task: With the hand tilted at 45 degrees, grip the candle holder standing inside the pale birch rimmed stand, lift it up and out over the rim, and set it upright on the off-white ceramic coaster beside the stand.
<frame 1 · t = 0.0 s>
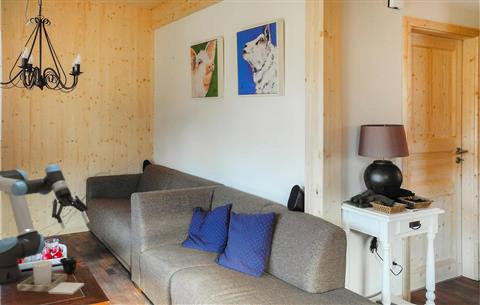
hand: (76, 225, 217), 36 cm above the table, tool tilted 35°, fingers open, 13 cm apart
birch stand: (42, 284, 230), on the table
candle holder: (42, 285, 230), resting in birch stand
controller: (68, 272, 248), on the table
coaster: (66, 289, 223), on the table
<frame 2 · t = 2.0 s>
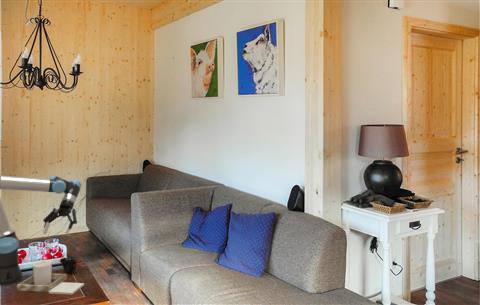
hand: (55, 233, 241), 25 cm above the table, tool tilted 45°, fingers open, 13 cm apart
nothing on the table moved.
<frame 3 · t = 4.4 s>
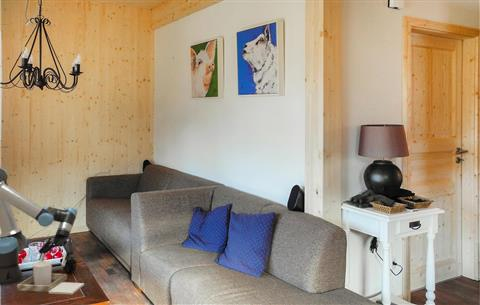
hand: (51, 265, 234), 9 cm above the table, tool tilted 45°, fingers open, 13 cm apart
nothing on the table moved.
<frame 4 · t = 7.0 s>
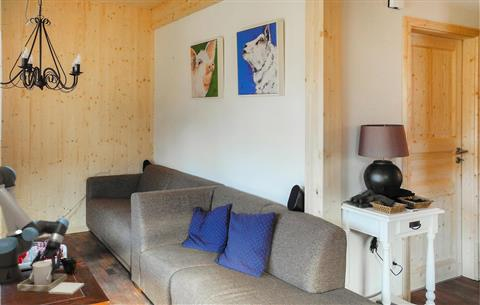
hand: (39, 280, 226), 4 cm above the table, tool tilted 45°, fingers closed on candle holder, 9 cm apart
candle holder: (42, 284, 230), resting in birch stand, touching gripper
everything else where it was.
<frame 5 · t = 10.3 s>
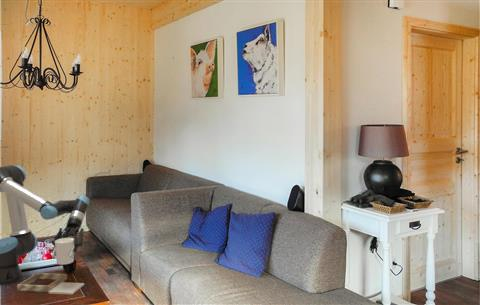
hand: (62, 257, 220), 19 cm above the table, tool tilted 45°, fingers closed on candle holder, 9 cm apart
candle holder: (65, 262, 223), point 15 cm above the table, touching gripper
everything else where it was.
when the fingers open (5 cm above the table, at t = 13.7 s): candle holder stays where it is, resting on coaster.
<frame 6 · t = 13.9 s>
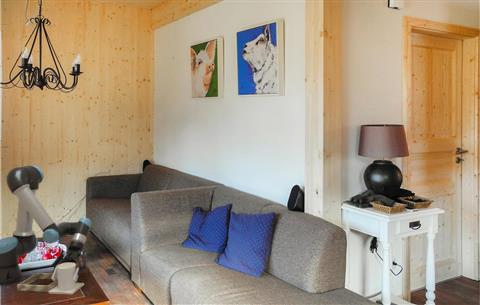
hand: (63, 280, 220), 6 cm above the table, tool tilted 45°, fingers open, 11 cm apart
candle holder: (66, 287, 223), point 1 cm above the table, touching coaster
everything else where it was.
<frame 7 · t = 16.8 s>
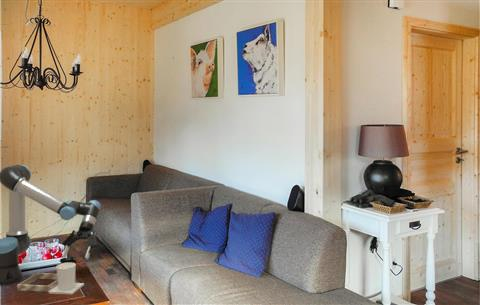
hand: (75, 257, 231), 14 cm above the table, tool tilted 45°, fingers open, 13 cm apart
nothing on the table moved.
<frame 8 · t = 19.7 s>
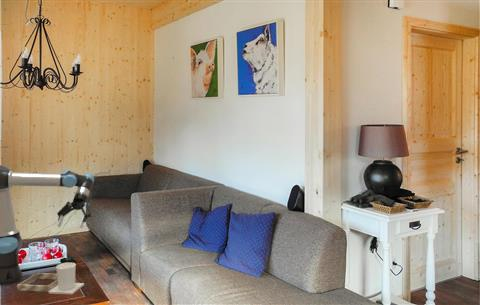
hand: (69, 226, 240), 30 cm above the table, tool tilted 45°, fingers open, 13 cm apart
nothing on the table moved.
at the end: candle holder inside the target area on the coaster (0.1 cm from its centre), point 0.8 cm above the coaster's base; candle holder tilted 0°; the gripper is holding nothing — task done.
